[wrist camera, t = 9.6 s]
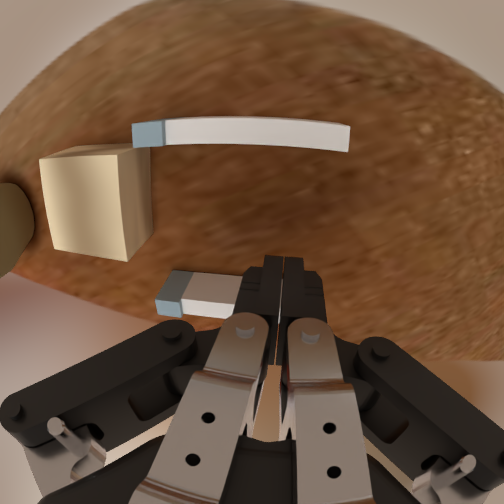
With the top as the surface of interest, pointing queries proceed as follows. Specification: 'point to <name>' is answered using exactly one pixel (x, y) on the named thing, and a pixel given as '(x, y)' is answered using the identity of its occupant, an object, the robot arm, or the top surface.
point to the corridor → (226, 132)
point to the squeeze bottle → (13, 225)
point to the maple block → (99, 199)
